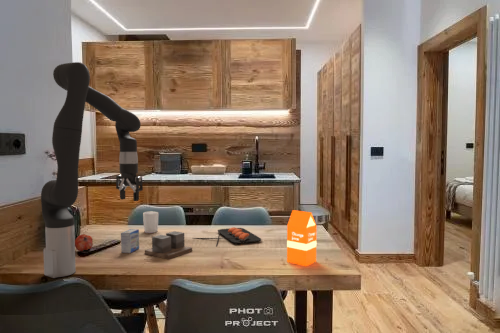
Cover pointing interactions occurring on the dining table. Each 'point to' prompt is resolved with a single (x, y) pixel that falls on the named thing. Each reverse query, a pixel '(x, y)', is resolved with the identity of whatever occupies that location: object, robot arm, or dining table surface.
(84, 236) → the red tomato
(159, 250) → the display stand
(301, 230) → the orange juice
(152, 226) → the white cup
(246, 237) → the sushi plate
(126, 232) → the medicine box
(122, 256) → the dining table surface
